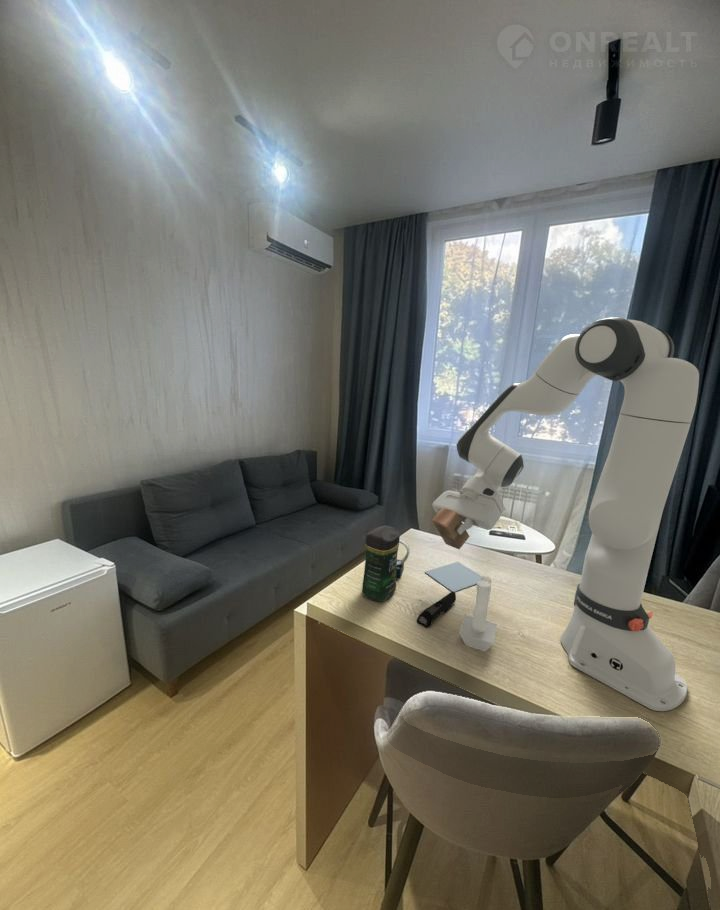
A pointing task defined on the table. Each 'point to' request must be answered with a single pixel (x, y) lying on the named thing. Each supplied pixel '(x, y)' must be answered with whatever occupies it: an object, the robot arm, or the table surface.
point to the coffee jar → (380, 563)
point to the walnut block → (450, 528)
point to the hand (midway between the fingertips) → (448, 529)
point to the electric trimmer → (436, 610)
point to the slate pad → (454, 576)
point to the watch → (401, 562)
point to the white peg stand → (479, 620)
